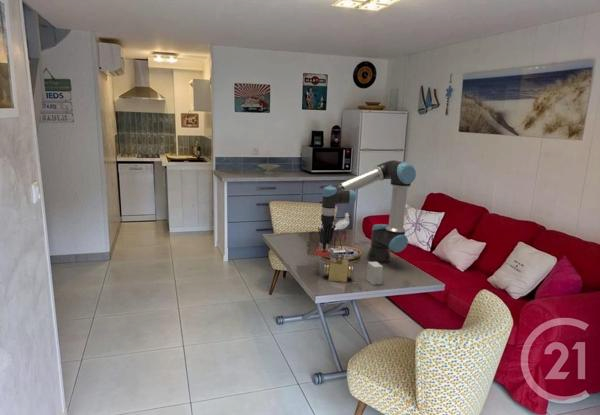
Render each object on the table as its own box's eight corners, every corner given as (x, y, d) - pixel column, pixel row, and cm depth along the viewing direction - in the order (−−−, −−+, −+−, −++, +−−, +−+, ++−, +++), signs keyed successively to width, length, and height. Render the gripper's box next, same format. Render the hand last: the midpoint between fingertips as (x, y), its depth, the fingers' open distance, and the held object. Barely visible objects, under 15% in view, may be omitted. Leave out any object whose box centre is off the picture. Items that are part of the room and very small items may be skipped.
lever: (344, 259, 231) (344, 254, 230) (341, 261, 227) (341, 256, 226) (317, 252, 238) (317, 248, 238) (314, 254, 234) (314, 250, 234)
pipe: (351, 276, 235) (353, 263, 233) (352, 281, 228) (353, 268, 226) (323, 273, 236) (324, 260, 235) (323, 278, 229) (324, 265, 227)
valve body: (350, 276, 236) (351, 257, 234) (350, 282, 227) (352, 263, 225) (325, 274, 237) (327, 255, 235) (324, 280, 228) (326, 260, 226)
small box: (381, 284, 228) (383, 266, 225) (372, 285, 226) (374, 266, 224) (374, 278, 235) (376, 261, 233) (365, 279, 233) (367, 261, 231)
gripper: (330, 211, 238) (327, 250, 244) (315, 214, 229) (312, 254, 235) (340, 214, 233) (337, 253, 239) (325, 217, 224) (322, 258, 230)
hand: (324, 254), depth 237 cm, fingers closed
